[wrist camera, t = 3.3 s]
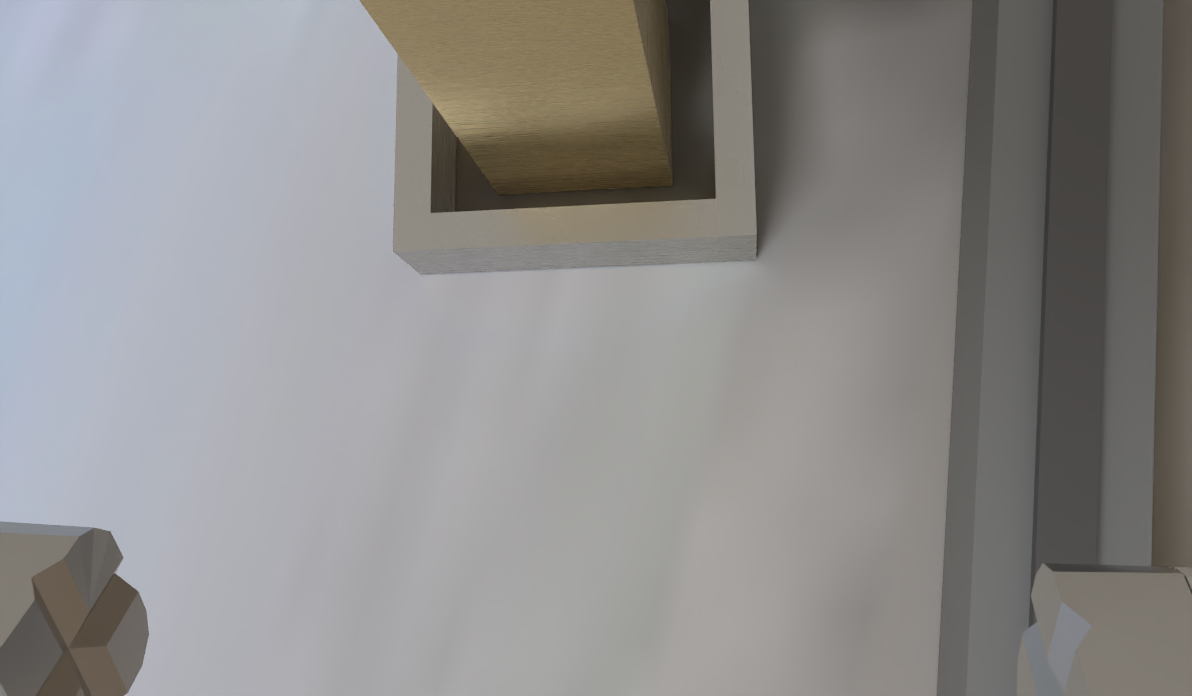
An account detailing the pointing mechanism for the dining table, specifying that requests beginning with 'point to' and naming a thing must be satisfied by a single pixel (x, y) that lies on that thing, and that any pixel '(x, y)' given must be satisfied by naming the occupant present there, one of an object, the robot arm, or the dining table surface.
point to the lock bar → (545, 86)
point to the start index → (586, 231)
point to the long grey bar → (1051, 317)
